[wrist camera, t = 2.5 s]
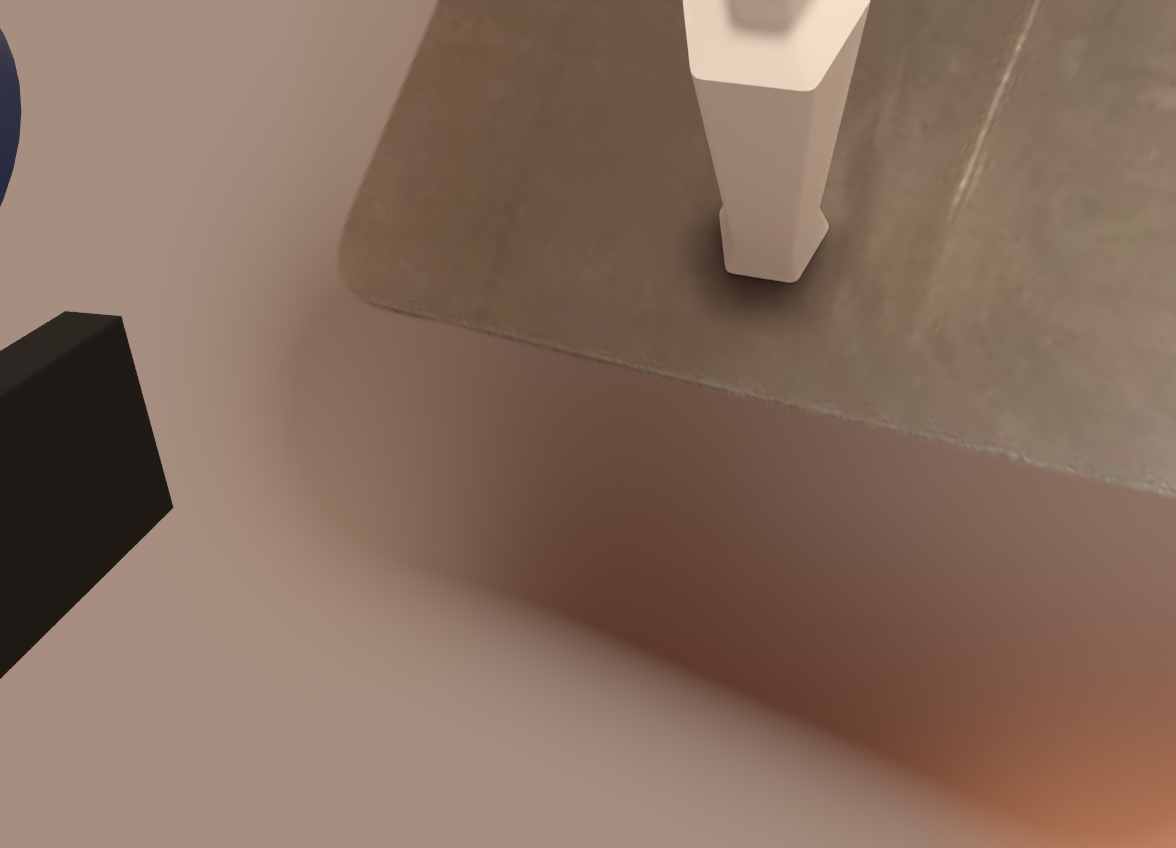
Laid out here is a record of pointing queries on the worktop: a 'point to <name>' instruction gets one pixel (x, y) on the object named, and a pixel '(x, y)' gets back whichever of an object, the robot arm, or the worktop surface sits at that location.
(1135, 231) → the worktop surface
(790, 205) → the perfume bottle
